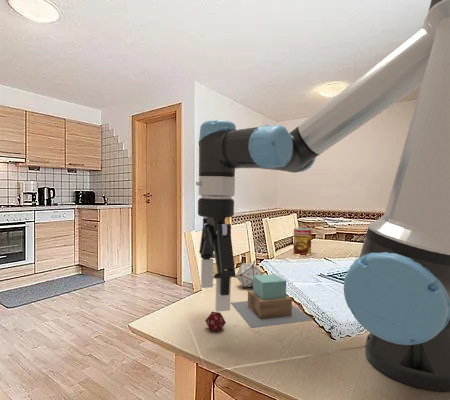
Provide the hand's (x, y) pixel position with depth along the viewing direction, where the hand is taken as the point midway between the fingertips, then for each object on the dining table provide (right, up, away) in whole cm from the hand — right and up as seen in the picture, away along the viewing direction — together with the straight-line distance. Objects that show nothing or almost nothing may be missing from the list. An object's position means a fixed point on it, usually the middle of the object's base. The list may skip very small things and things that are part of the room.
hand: (213, 297), depth 65 cm
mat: (+13, -7, +10) cm, 18 cm away
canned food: (+38, -5, +78) cm, 87 cm away
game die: (+10, -6, +29) cm, 31 cm away
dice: (0, -7, 0) cm, 7 cm away
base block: (+13, -6, +10) cm, 18 cm away
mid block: (+13, -2, +10) cm, 16 cm away
